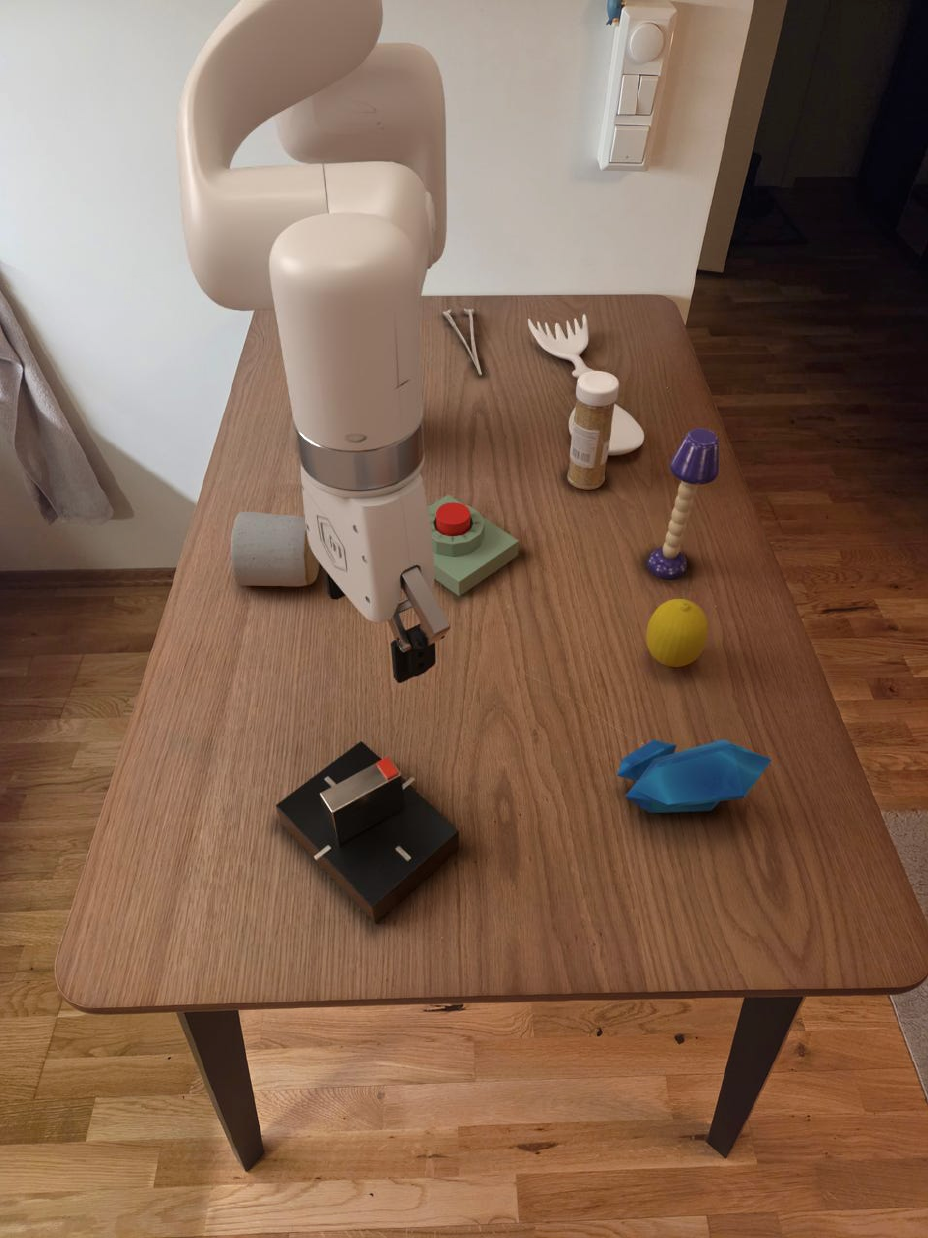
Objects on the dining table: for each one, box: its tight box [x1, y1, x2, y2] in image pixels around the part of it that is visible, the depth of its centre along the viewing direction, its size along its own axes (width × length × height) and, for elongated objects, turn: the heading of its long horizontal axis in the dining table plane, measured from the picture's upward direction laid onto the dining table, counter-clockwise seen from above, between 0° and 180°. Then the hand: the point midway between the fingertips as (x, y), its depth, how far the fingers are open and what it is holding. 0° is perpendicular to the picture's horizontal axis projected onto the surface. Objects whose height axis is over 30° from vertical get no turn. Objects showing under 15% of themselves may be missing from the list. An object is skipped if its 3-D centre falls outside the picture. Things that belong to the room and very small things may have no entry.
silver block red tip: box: [320, 756, 405, 845], centre depth 66 cm, size 6×2×5 cm, turn 124°
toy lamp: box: [646, 428, 720, 580], centre depth 86 cm, size 5×5×17 cm
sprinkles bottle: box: [566, 370, 620, 491], centre depth 98 cm, size 5×5×14 cm
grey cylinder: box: [230, 510, 320, 587], centre depth 90 cm, size 11×8×8 cm
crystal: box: [616, 738, 772, 814], centre depth 70 cm, size 7×9×12 cm
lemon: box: [645, 598, 709, 668], centre depth 81 cm, size 6×6×8 cm
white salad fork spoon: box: [527, 313, 645, 456], centre depth 114 cm, size 9×32×4 cm, turn 9°
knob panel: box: [275, 740, 460, 925], centre depth 69 cm, size 12×10×3 cm
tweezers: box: [442, 308, 483, 377], centre depth 124 cm, size 17×5×2 cm, turn 11°
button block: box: [428, 494, 520, 597], centre depth 93 cm, size 11×9×4 cm
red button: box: [436, 502, 470, 537], centre depth 91 cm, size 4×4×2 cm
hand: (380, 629), depth 64 cm, fingers open, 9 cm apart
